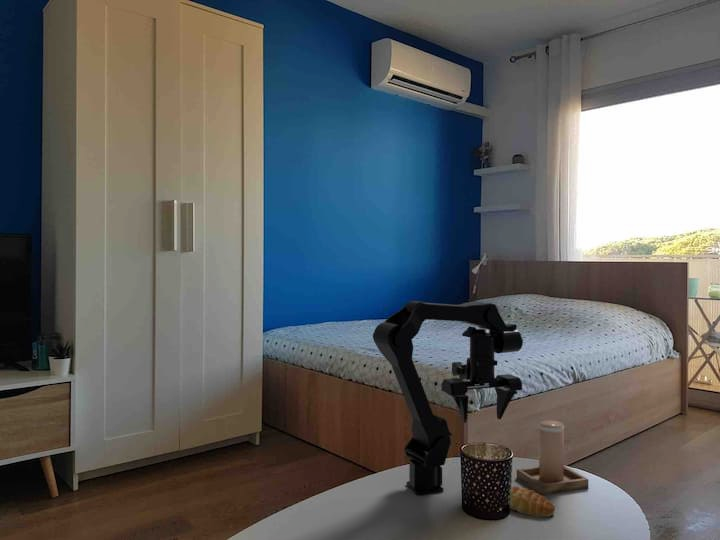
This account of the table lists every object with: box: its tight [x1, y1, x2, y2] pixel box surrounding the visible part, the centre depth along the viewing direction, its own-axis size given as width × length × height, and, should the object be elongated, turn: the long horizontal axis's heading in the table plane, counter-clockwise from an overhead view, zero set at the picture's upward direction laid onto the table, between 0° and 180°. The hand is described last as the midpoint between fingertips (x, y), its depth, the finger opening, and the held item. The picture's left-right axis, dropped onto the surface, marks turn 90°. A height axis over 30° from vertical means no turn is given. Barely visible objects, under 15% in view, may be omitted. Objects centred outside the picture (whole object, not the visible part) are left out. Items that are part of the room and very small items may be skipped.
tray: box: [516, 465, 589, 496], centre depth 129 cm, size 12×10×2 cm
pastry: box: [509, 485, 556, 518], centre depth 116 cm, size 9×7×4 cm
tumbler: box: [538, 419, 565, 484], centre depth 129 cm, size 6×6×13 cm
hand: (481, 420), depth 134 cm, fingers open, 9 cm apart
